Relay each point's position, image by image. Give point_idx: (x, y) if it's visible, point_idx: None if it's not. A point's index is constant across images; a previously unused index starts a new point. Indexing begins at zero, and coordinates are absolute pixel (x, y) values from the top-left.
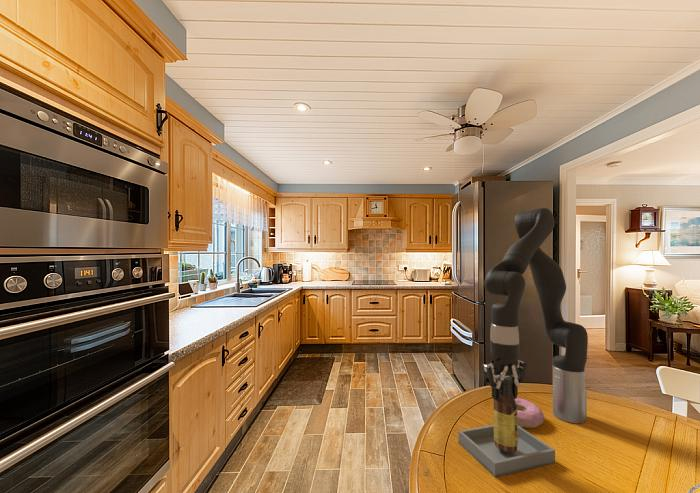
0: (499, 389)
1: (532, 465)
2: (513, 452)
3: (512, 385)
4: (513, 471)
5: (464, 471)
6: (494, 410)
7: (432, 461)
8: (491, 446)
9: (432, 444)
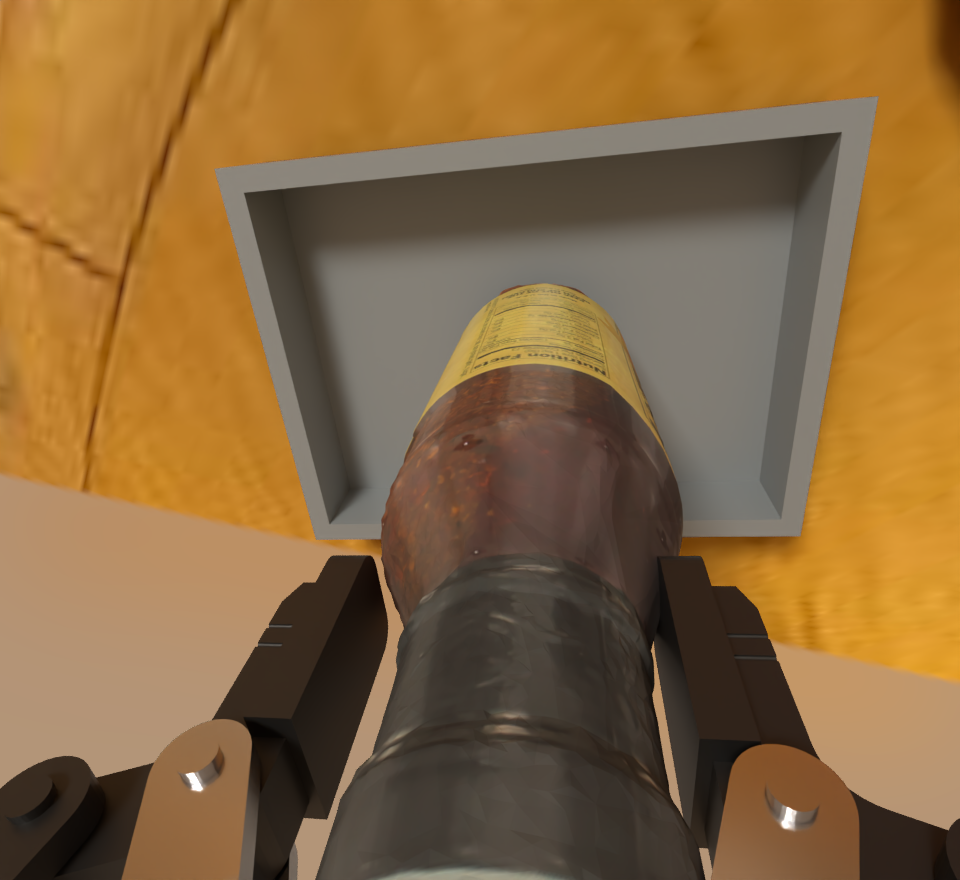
0: (314, 804)
1: None
2: None
3: (690, 806)
4: None
5: (203, 427)
6: (404, 461)
7: (41, 319)
8: (472, 284)
9: (59, 145)
